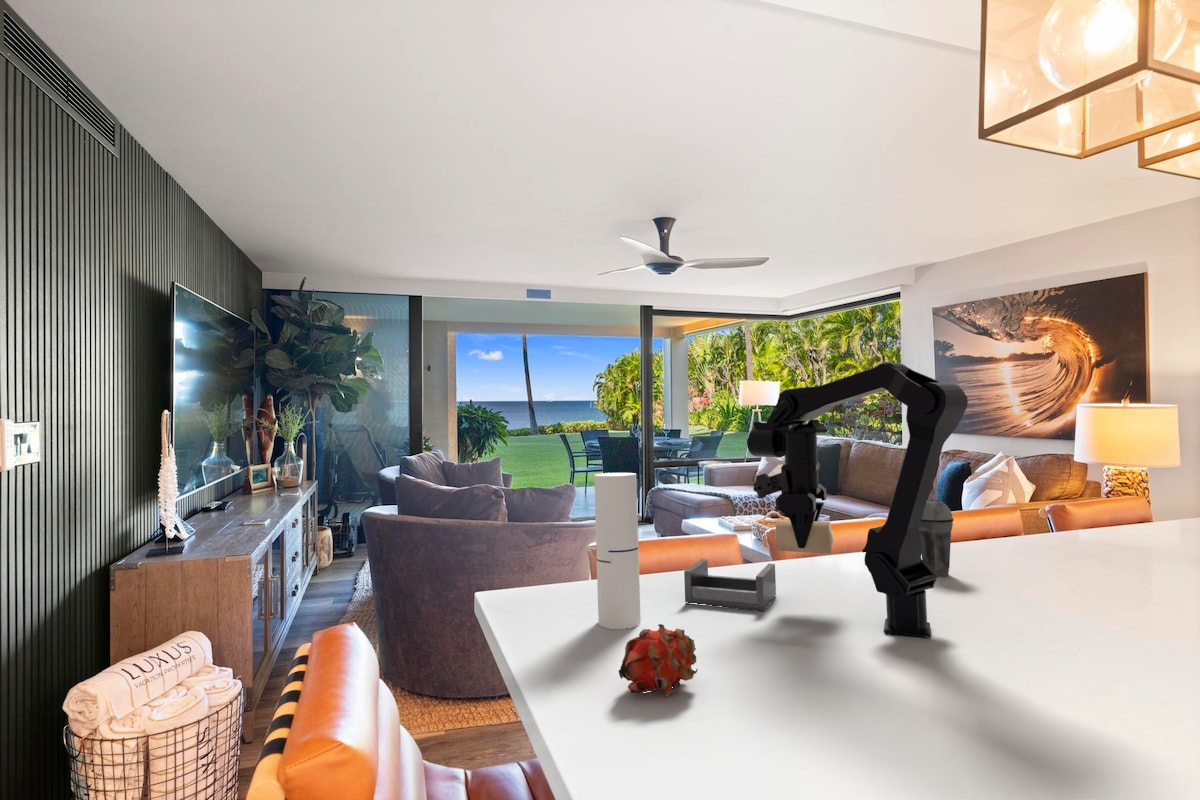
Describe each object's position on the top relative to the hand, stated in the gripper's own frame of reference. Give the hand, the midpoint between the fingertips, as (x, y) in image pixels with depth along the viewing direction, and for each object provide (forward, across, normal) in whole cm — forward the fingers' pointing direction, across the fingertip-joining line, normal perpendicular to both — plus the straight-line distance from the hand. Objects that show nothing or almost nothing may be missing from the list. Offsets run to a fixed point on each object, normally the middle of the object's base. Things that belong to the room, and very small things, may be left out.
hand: (804, 545), depth 120 cm
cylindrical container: (+11, +21, -27) cm, 36 cm away
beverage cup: (+11, -32, +22) cm, 40 cm away
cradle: (+11, +1, -13) cm, 17 cm away
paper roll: (+1, 0, 0) cm, 1 cm away
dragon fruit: (+11, +45, -11) cm, 48 cm away
